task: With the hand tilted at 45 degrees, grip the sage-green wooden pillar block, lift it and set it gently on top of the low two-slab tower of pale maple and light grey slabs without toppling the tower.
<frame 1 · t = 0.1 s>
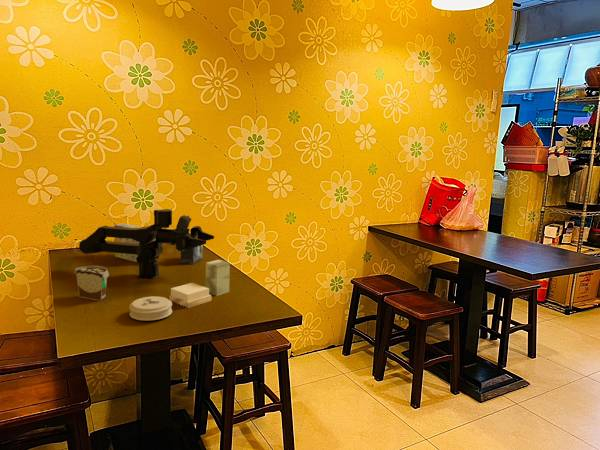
hand: (210, 239, 174), 17 cm above the table, tool horizontal, fingers open, 9 cm apart
tower base slab: (190, 302, 156), on the table, touching tower top slab
pillar block: (217, 291, 166), on the table
snack box: (134, 260, 203), on the table
lid: (151, 316, 142), on the table
small box: (191, 261, 205), on the table
food container: (96, 296, 156), on the table
tower top slab: (190, 295, 155), point 2 cm above the table, touching tower base slab
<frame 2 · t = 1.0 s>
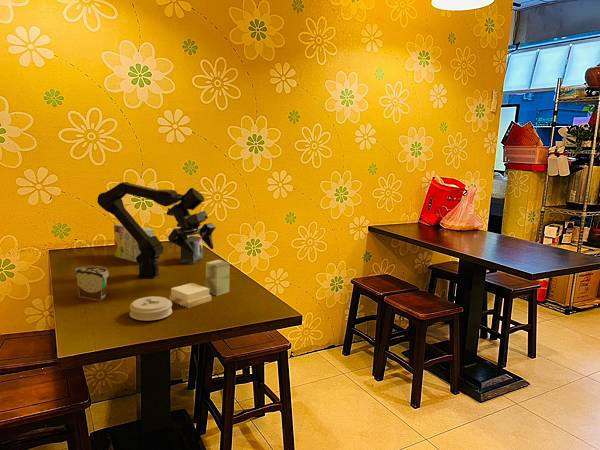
hand: (203, 250, 168), 14 cm above the table, tool tilted 45°, fingers open, 9 cm apart
nothing on the table moved.
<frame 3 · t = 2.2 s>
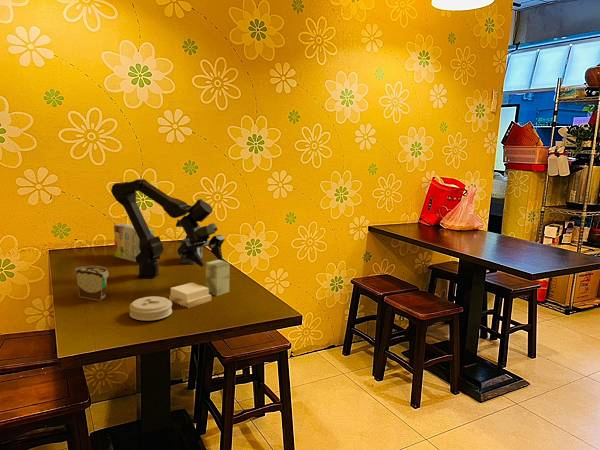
hand: (212, 263, 166), 10 cm above the table, tool tilted 45°, fingers open, 9 cm apart
tower base slab: (190, 302, 156), on the table
tower top slab: (189, 295, 156), point 2 cm above the table
everything else where it was.
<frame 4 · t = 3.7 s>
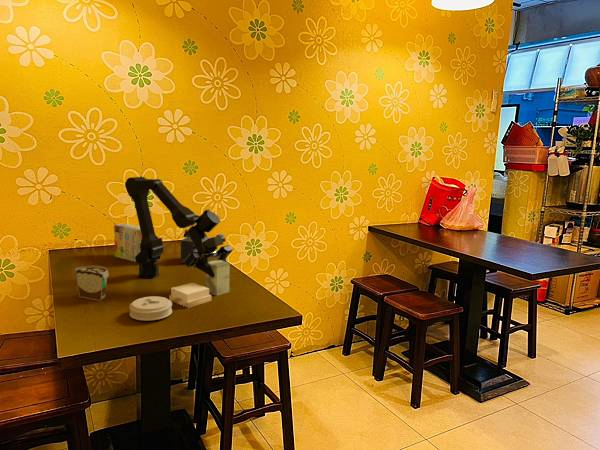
hand: (220, 275, 164), 7 cm above the table, tool tilted 45°, fingers closed on pillar block, 6 cm apart
tower base slab: (190, 302, 156), on the table, touching tower top slab
pillar block: (217, 291, 166), on the table, touching gripper
tower top slab: (190, 295, 156), point 2 cm above the table, touching tower base slab
everything else where it was.
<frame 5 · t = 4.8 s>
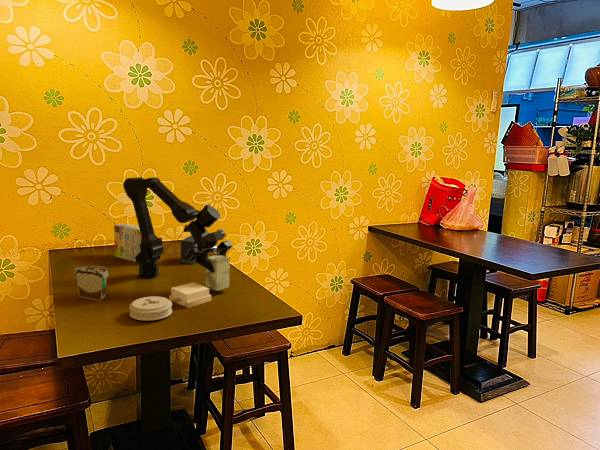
hand: (220, 270, 163), 8 cm above the table, tool tilted 45°, fingers closed on pillar block, 6 cm apart
pillar block: (217, 286, 166), point 2 cm above the table, touching gripper
everything else where it was.
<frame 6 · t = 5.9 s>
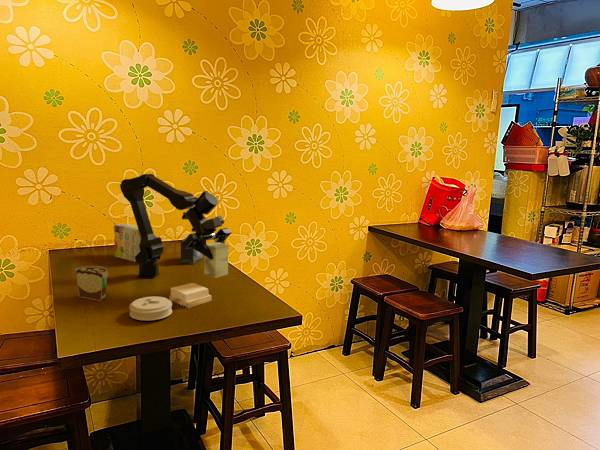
hand: (218, 257, 162), 13 cm above the table, tool tilted 45°, fingers closed on pillar block, 6 cm apart
pillar block: (216, 274, 164), point 7 cm above the table, touching gripper
everything else where it was.
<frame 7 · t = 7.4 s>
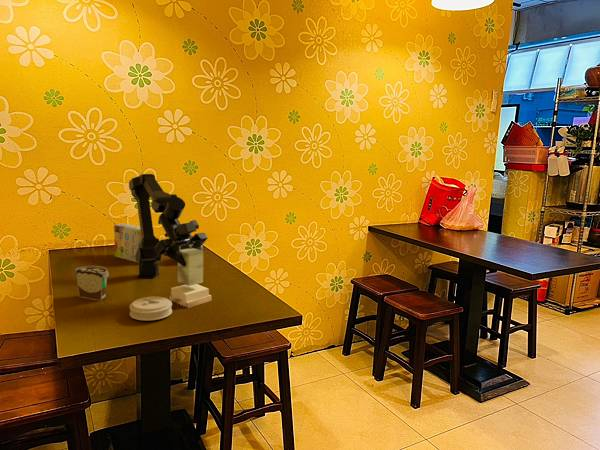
hand: (193, 264, 153), 13 cm above the table, tool tilted 45°, fingers closed on pillar block, 6 cm apart
pillar block: (190, 282, 155), point 7 cm above the table, touching gripper
everything else where it was.
when the fingers open (12 cm above the table, at t = 8.2 s): pillar block stays where it is, resting on tower top slab.
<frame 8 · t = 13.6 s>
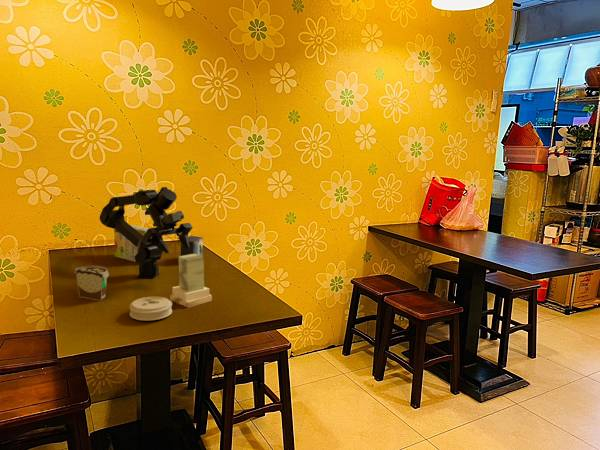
hand: (178, 250, 168), 14 cm above the table, tool tilted 45°, fingers open, 9 cm apart
pillar block: (191, 288, 155), point 4 cm above the table, touching tower top slab
tower top slab: (190, 295, 156), point 2 cm above the table, touching pillar block, tower base slab
everything else where it was.
at the end: pillar block 0.4 cm off-centre on the tower top slab, point 2.6 cm above the tower top slab's base; pillar block tilted 2°; tower top slab 0.1 cm off-centre on the tower base slab, point 2.5 cm above the tower base slab's base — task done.
